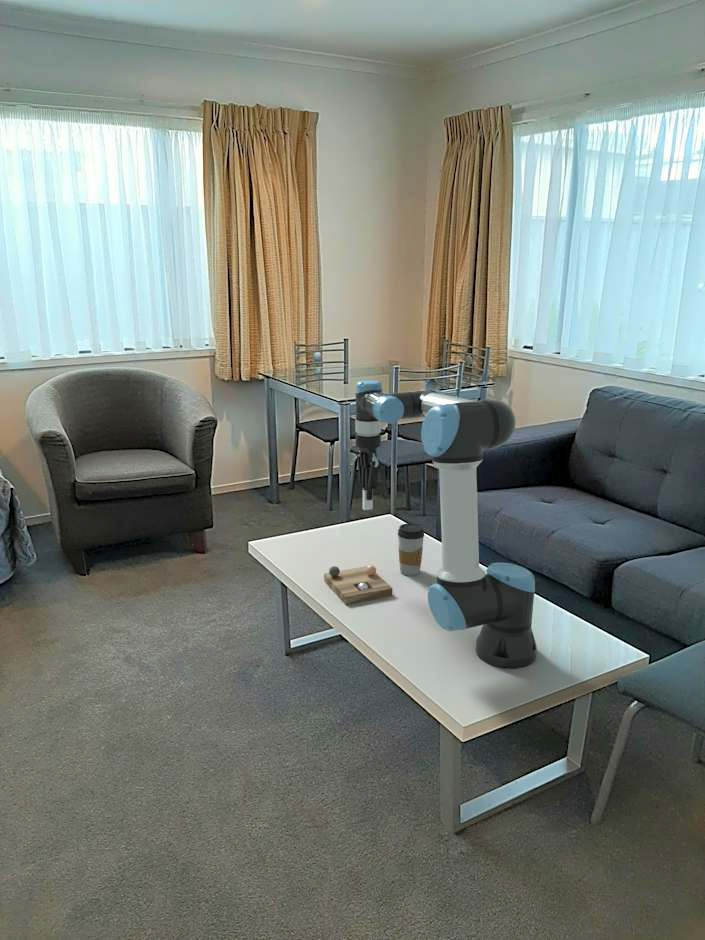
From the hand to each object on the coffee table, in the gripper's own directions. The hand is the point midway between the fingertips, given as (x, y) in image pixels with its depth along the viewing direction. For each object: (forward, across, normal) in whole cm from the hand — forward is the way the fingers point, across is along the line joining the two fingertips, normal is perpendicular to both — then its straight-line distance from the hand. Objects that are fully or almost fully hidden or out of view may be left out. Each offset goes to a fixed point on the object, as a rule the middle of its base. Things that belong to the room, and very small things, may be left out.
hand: (367, 508), depth 226 cm
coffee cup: (+23, -2, -14) cm, 27 cm away
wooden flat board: (+22, -6, +6) cm, 24 cm away
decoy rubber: (+18, -1, +11) cm, 22 cm away
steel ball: (+21, -10, +6) cm, 24 cm away
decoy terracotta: (+18, -4, +1) cm, 19 cm away
